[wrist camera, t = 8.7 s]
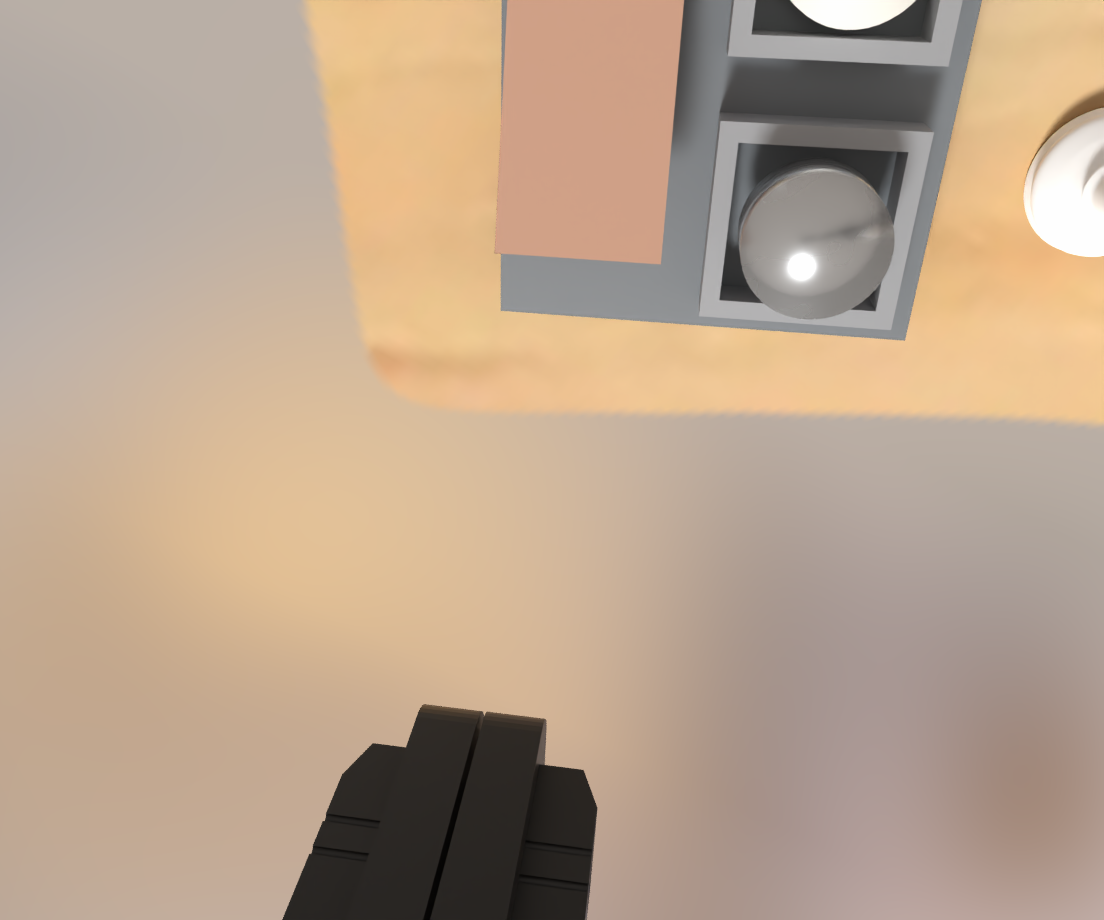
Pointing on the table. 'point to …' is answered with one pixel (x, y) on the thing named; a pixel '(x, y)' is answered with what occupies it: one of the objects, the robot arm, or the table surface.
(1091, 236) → the chess piece
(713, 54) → the panel
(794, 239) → the metal button
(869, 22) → the white button
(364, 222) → the table surface
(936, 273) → the table surface
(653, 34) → the rocker
